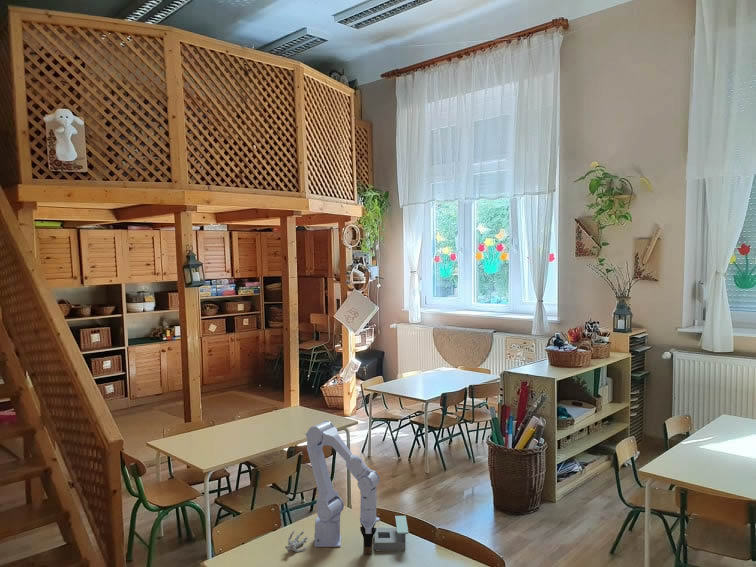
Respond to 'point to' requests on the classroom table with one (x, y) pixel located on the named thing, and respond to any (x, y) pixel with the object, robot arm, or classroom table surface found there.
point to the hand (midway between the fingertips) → (367, 543)
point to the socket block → (392, 536)
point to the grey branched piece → (295, 543)
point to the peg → (367, 549)
